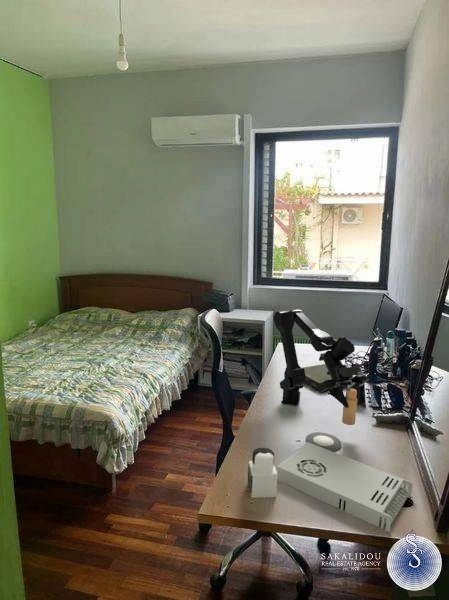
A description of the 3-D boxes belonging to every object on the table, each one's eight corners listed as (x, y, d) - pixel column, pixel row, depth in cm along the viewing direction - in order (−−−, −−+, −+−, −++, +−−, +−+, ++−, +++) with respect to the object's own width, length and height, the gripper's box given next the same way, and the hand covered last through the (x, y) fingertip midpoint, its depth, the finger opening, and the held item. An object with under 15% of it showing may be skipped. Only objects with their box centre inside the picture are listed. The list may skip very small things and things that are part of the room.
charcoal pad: (302, 446, 144) (302, 444, 144) (309, 431, 155) (310, 429, 155) (338, 455, 140) (338, 453, 140) (343, 438, 151) (343, 436, 150)
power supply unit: (389, 534, 105) (391, 517, 104) (276, 481, 125) (276, 466, 124) (410, 498, 120) (412, 482, 119) (306, 455, 140) (307, 441, 139)
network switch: (358, 385, 202) (359, 375, 201) (324, 395, 189) (325, 384, 188) (321, 370, 221) (322, 361, 220) (288, 378, 208) (288, 369, 207)
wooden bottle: (341, 423, 149) (344, 391, 147) (342, 418, 154) (345, 386, 151) (354, 426, 148) (357, 393, 146) (355, 420, 152) (358, 389, 150)
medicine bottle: (247, 482, 123) (249, 444, 121) (271, 482, 124) (273, 444, 122) (250, 498, 116) (252, 458, 114) (276, 497, 117) (279, 458, 115)
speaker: (370, 403, 181) (370, 380, 179) (365, 408, 177) (364, 384, 175) (353, 399, 186) (352, 377, 184) (348, 404, 181) (347, 381, 180)
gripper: (325, 358, 146) (344, 401, 138) (366, 353, 154) (386, 393, 146) (310, 372, 154) (327, 413, 146) (349, 366, 162) (367, 405, 155)
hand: (352, 406), depth 148 cm, fingers closed on wooden bottle, 4 cm apart
